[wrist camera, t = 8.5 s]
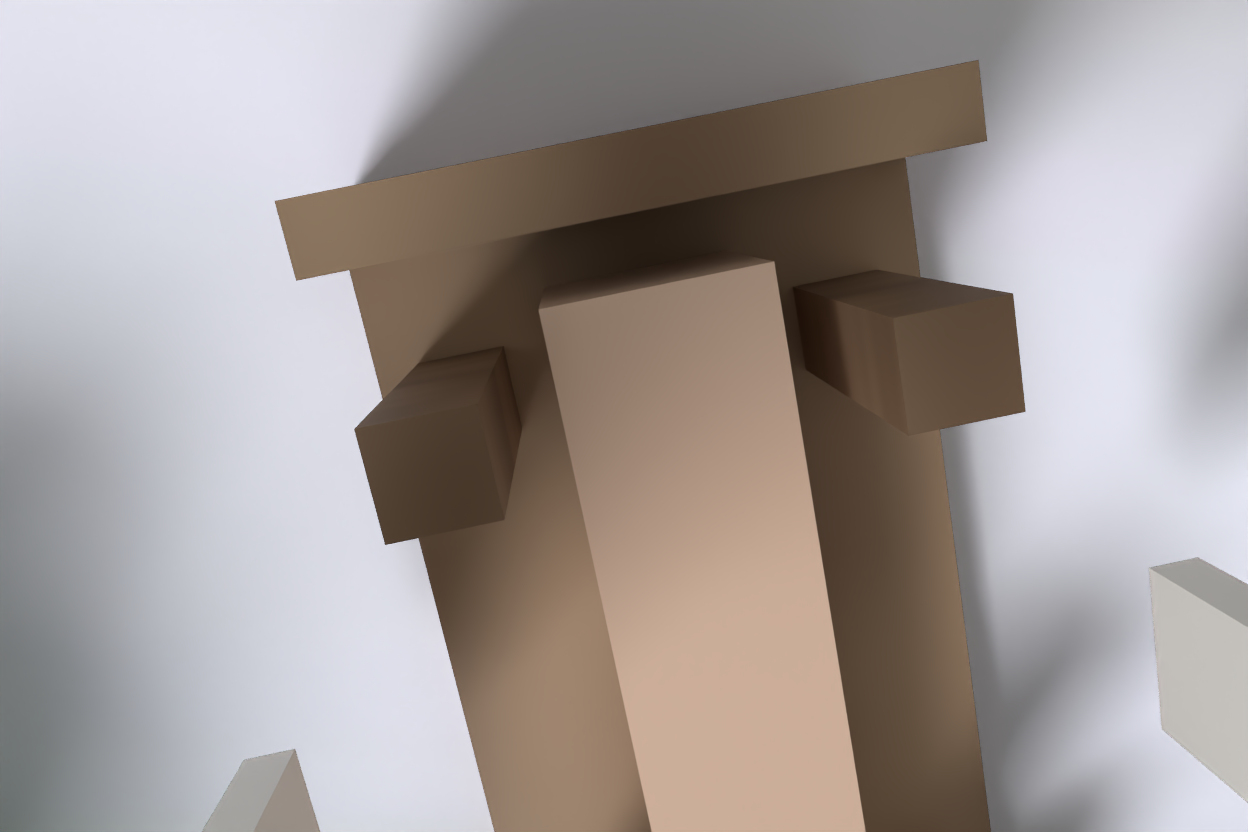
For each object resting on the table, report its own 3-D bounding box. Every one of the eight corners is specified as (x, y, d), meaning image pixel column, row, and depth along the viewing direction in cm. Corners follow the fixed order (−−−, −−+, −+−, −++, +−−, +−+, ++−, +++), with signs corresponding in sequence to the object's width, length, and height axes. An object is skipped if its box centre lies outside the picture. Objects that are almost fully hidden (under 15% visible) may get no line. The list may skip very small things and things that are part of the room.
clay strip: (697, 1006, 18) (728, 1189, 15) (544, 288, 15) (537, 309, 12) (850, 973, 18) (916, 1147, 15) (727, 251, 15) (773, 261, 12)
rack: (569, 1067, 20) (571, 1427, 14) (348, 198, 16) (221, 188, 10) (988, 974, 20) (1166, 1292, 14) (871, 93, 16) (1048, 24, 10)
